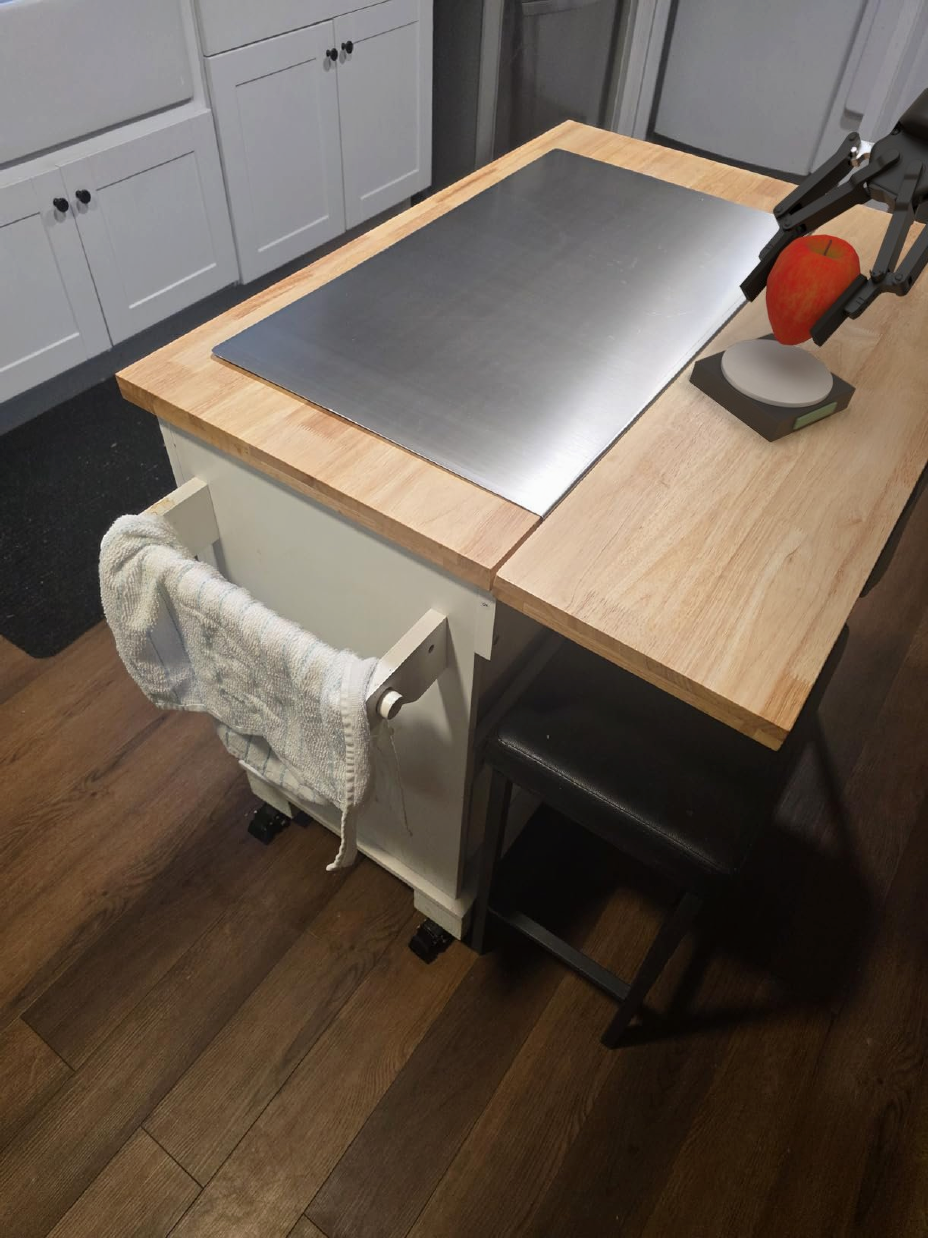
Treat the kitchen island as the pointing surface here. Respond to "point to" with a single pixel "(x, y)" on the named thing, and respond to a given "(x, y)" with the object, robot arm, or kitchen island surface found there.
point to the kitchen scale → (772, 385)
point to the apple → (807, 284)
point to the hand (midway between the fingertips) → (779, 315)
